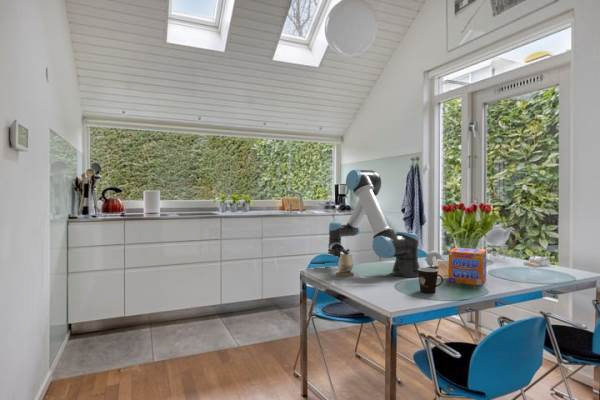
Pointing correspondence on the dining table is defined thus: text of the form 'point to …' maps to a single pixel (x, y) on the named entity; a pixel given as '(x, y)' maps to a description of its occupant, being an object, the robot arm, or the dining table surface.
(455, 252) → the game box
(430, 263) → the donut
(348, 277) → the mat
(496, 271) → the dining table surface
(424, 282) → the coffee mug
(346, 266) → the birch block
